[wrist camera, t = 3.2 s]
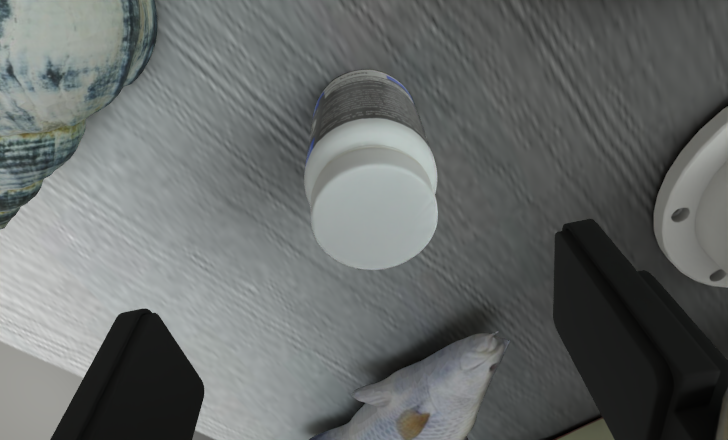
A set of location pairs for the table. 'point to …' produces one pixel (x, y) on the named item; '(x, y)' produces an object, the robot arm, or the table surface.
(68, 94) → the seashell
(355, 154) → the pill bottle
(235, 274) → the table surface
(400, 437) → the fish
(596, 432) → the gift box
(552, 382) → the table surface
